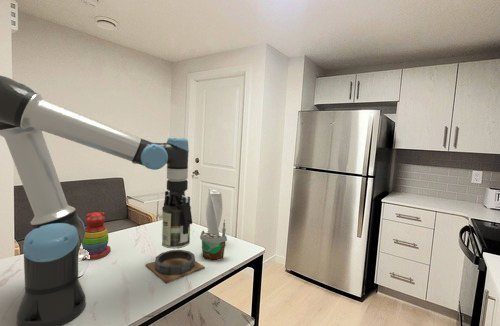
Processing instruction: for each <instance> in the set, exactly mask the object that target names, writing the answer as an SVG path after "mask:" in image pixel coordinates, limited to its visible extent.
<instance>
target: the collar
mask: <svg viewBox="0 0 500 326" xmlns="http://www.w3.org/2000/svg"><path fill="white" fill-rule="evenodd" d="M195 257H196V256H195V254H194V253H193V252H191V251H190V250H183V249H172V250H166V251H164V252H161V253H159V254H158V255H156V256H155V260H154V261H155V270H156V271H157V272H158V273H160V274H164V275H181V274H184V273H186V272H189V271H191V270H192V268H193V267H194V266H195V261H196V259H195ZM174 258H182V259H187V260H188V261H189V262H187V263H184V264H182V265H174V266H169V265H164V264H162V262H163V261H165V260H169V259H174Z"/></svg>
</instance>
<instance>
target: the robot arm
mask: <svg viewBox="0 0 500 326" xmlns="http://www.w3.org/2000/svg"><path fill="white" fill-rule="evenodd" d="M43 132H44V133H47V134H50V135H54V136H57V137H59V138H62V139H65V140H68V141H71V142H75V143H76V144H80V145H83V146H85V147H88V148H92V149H94V150H97V151H100V152H103V153H106V154H109V155H112V156H115V157H118V158H121V159H123V160H126V161H130V162H131V163H132V164H137V165H141V166H143V167H145V168H146V169H149V170H152V171H153V170H155V171H156V170H160V169H162V168H164V167H165V166H166V179H167V180H166V191H165V192H164V201H163V202H164V203H163V206H166V205H168V206H175V205H176V207H177V208H178V210H183V213H181V223H182V224H181V225H180V243H183V242H187V241H188V225H189V224H190V225H192V224H193V216H192V207H191V208H190V206H191V197H190V196H186V193H185V192H186V191H187V190H188V189H189V188H188V187H189V186H188V184H189V182H188V180H187V179H188V178H189V176H188V175H189V174H188V173H189V153H190V150H189V140H188V139H187V138H184V137H183V138H182V137H181V138H180V137H168V138H167V140H166V142H153V141H150V140H146V139H144V138H141V137H139V136H137V135H134V134H131V133H129V132H127V131H123V130H121V129H119V128H116V127H113V126H111V125H109V124H106V123H103V122H101V121H98V120H95V119H93V118H90V117H88V116H85V115H83V114H80V113H78V112H75V111H74V110H70V109H68V108H66V107H63V106H60V105H58V104H55V103H53V102H50V101H48V100H45V99H43V96H42V95H41V94H40V93H38V92H36V91H34V90H33V89H32V88H31V87H29V86H27V85H26V84H23V83H21V82H18V81H16V80H14V79H12V78H10V77H8V76H5V75H4V76H3V75H0V137H3V138H4V140H5V143H6V145H7V148H8V150H9V152H10V155H11V158H12V160H13V163H14V166H15V168H16V171H17V174H18V176H19V179H20V181H21V183H22V184H21V185H22V187H23V190H24V191H25V194H26V197H27V199H28V202H29V205H30V208H31V210H32V212H33V215H34V216H33V218H32V220H31V221H30V225H31V228H32V230H31V231H29V232H28V234H26V236H25V237H24V240H23V246H22V250H23V251H22V253H23V266H24V294H23V297H22V299H21V303H20V306H19V308H18V310H17V313H16V325H18V326H62V325H65V324H67V323H69V322H71V321H72V320H74V319H75V318H77V317H78V316H79V315H80V314H81V313H82V312H83V311H84V309H85V308H86V305H87V304H86V303H87V302H86V298H87V297H86V294H85V292H84V289H83V287H82V284H81V282H80V281H79V252H80V249H81V246H82V241H83V239H84V236H85V228H86V227H85V223H84V222H83V220H82V218H80V217H79V216H78V212H77V209H76V207H74V206H71V205H70V204H68V201H67V199H66V196H65V193H64V190H63V188H62V187H63V186H62V184H61V182H60V178H59V177H58V173H57V171H56V168H55V165H54V163H53V160H52V157H51V153H50V151H49V148H48V145H47V142H46V140H45V137H44V134H43ZM162 214H163V211H162Z"/></svg>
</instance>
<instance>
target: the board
mask: <svg viewBox="0 0 500 326" xmlns="http://www.w3.org/2000/svg"><path fill="white" fill-rule="evenodd" d="M187 262H189V261H188V260H187V259H182V258H174V259H169V260H165V261H163V262H162V264H164V265H169V266H174V265H182V264H184V263H187ZM144 265H145V267H146V268H147V269H148V271H149V270H150V272H152V273H153V274H154V275H155V276H156V277H157V278H159V279H160V280H161V281H162V282H163V283H165V284H170V283H171V282H174V281H177V280H179V279H182V278H185V277H187V276H190V275H192V274H195V273H197V272H200V271H202V270H205V268H206V267H205V266H204V265H203V264H202V263H200V262H198V261H196V260H195V266H194V267H193V268H192V270H191V271H189V272H186V273H184V274H181V275H164V274H160V273H158V272H157V271H156V270H155V260H154V261H151V262H148V263H145V264H144Z"/></svg>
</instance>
